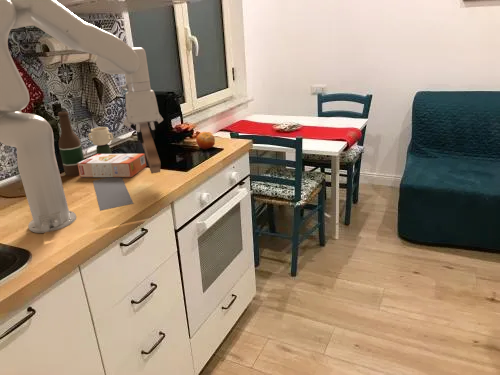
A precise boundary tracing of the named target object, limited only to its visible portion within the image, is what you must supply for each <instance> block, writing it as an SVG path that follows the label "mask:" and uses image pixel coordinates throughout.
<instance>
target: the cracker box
mask: <svg viewBox="0 0 500 375" xmlns="http://www.w3.org/2000/svg"><path fill="white" fill-rule="evenodd" d="M146 167H147V159H146V155H145V153H112V154H97V153H96V154H94V155H92V156H90V157H87V158H86V159H85V158H84V160H83V161H81V162H79V163H78V169H79V177H80V178H110V177H122V178H132V177H134V176H135V175H137V174H138V173H139V172H141V171H143V169H145V168H146Z"/></svg>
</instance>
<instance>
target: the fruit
mask: <svg viewBox="0 0 500 375" xmlns="http://www.w3.org/2000/svg"><path fill="white" fill-rule="evenodd" d="M195 140H196V144H197V146H198V147H199V148H200V149H201V150H208V149H210V148H213V147H214V146H215V144H216V143H215V142H216V139H215V136H214V135H213V134H212V133H211V132H207V131H202V132H200V133H199V134H198V135H197V136H196V137H195Z"/></svg>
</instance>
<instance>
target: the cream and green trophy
mask: <svg viewBox="0 0 500 375" xmlns="http://www.w3.org/2000/svg"><path fill="white" fill-rule="evenodd" d="M109 130H110V129H109V128H108V127H107V126H100V127H99V126H98V127H95V128H91V129H90V132H89V133H88V135H87V136H88V140H89V141H91V142H92V143H93V145H94V146H96V148H95V149H96V154H113V153H112V150H111V147H110V145H109V144H110V143H111V141H114V135H113V132H110V131H109Z"/></svg>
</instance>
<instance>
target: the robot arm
mask: <svg viewBox="0 0 500 375" xmlns="http://www.w3.org/2000/svg"><path fill="white" fill-rule="evenodd" d="M30 26H31V27H32V26H33V27H34V26H35V27H36V28H38V29H39V30H40V31H43V32H44V33H46V34H47V35H49V36H50V37H52V38H53V39H55V40H57V41H58V42H59V43H61V44H62V45H64V46H65V47H67V48H69V49H71V50H74V51H77V52H81V53H87V54H91V55H95V56H96V58H95V63H96V67H97V68H98V69H99V70H100V71H101V72H102V73H104V74H107V75H124V77H125V78H124V80H125V84H122V85H121V88H122V90H123V91H125V90H126V92H125V110H126V117H125V119H124V122H123V125H124V126H126V127H129V128H131V129H132V130H134V131H135V132H136V136H137V138H136V139H137V141H138V142H140V144H142V143H143V138H142V132H141V130H140V123H145V122H147V123H148V126H149V129H150V133H151V135H152V138H153V141H154V142H155V140H154V139H156V135H155V130H156V128H157V126H158V125H159V124H160V123H162V122H163V121H164V118H163V117H162V115H161V114H160V112H159V106H158V101H157V97H156V93H155V91H154V90H153V89H152V88H151V81H150V75H149V74H150V72H149V68H148V61H147V59H148V58H147V54H146V50H145V49H144V48H143V47H131V46H130V45H128V44H127V43H126V42H124V41H123V40H122V39H121V38H119V37H118V36H116V35H114V34H112V33H110V32H108V31H106V30H104V29H101V28H99V27H98V26H95V25H93V24H92V23H88V22H87V21H84V19H82V18H80V17H79V16H78V15H76V14H74V13H73V12H72V11H71V10H69V9H68V8H67V7H65V6H64V5H63V4H61V3H60V2H59V1H57V0H0V143H1V144H4V145H5V146H8V147H12V148H16V159H17V160H16V161H17V167H18V169H17V170H18V172H19V175H20V178H21V183H22V185H23V189H24V192H25V193H24V194H25V198H26V199H27V203H28V206H29V210H30V211H29V212H30V214H31V217H32V220H31V221H30V222H28V225H27V226H28V229H29V231H30V232H32V233H35V234H36V233H37V234H45V233H47V232H54V231H58V230H60V229H63V228H66V227H68V226H70V225H72V224H73V223H74V222H75V221H76V220H77V215H76V213H75V211H72V210H70V209H69V206H68V202H67V201H68V200H67V198H66V193H65V189H64V186H63V181H62V178H61V174H60V169H59V166H58V162H57V156H56V153H55V152H56V151H55V138H54V132H53V128H52V126H51V124H50V122H48V121H47V120H46V119H45V118H43V117H42V116H40V115H37V114H34V113H28V112H27V113H26V112H22V110H24V109H25V108H26V107H27V106H28V105H29V102H30V93H29V90H28V88H27V85H26V84H25V82H24V80H23V77H22V76H21V74H20V72H19V70H18V68H17V66H16V64H15V62H14V59H13V57H12V55H11V52H10V49H9V45H8V44H9V35H10V32H11V30H14V29H19V28H24V27H30ZM131 123H133V124H131Z"/></svg>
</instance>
